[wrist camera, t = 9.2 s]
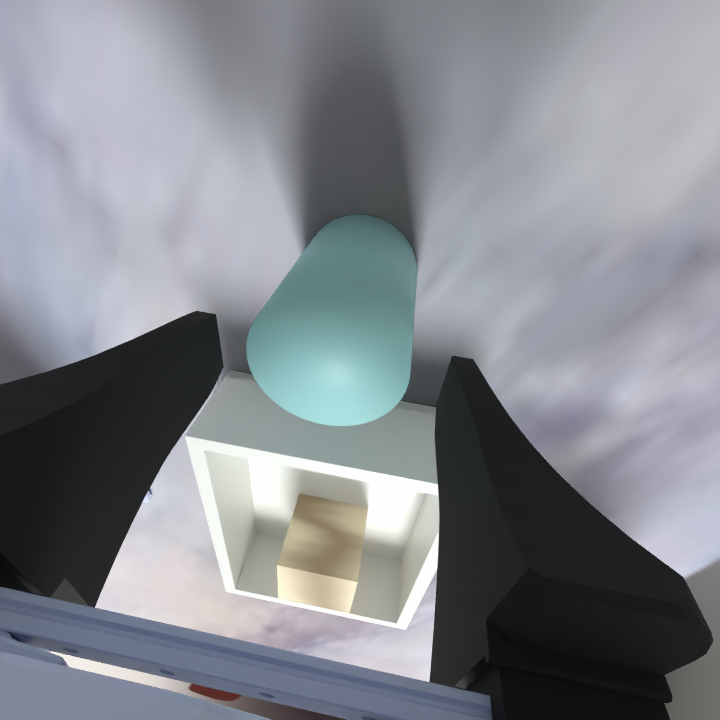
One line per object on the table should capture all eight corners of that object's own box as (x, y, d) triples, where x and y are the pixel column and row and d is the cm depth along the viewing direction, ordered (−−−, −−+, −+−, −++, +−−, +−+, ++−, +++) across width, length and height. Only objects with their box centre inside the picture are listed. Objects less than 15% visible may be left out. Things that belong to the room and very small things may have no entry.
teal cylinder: (304, 311, 19) (252, 411, 13) (307, 205, 16) (239, 277, 10) (405, 328, 18) (395, 437, 13) (428, 224, 15) (426, 309, 10)
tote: (250, 528, 32) (225, 591, 28) (229, 369, 22) (185, 435, 18) (408, 560, 32) (405, 629, 28) (467, 413, 21) (476, 491, 17)
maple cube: (298, 529, 30) (278, 598, 26) (299, 493, 27) (277, 565, 23) (360, 542, 30) (349, 613, 26) (368, 507, 27) (357, 582, 23)
